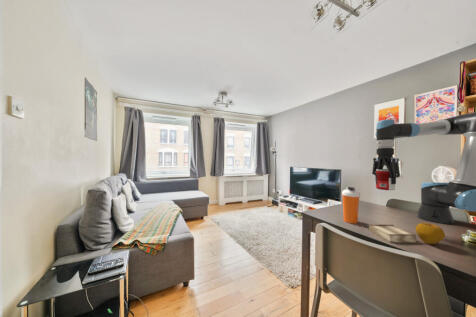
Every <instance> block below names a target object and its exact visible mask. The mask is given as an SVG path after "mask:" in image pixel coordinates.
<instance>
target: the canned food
mask: <svg viewBox="0 0 476 317" xmlns="http://www.w3.org/2000/svg"><path fill="white" fill-rule="evenodd" d="M389 177H390V175H389V170H388V169H386V168H383V169H376V180H375V187H376V189H378V190H382V191H390V190H389Z"/></svg>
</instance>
